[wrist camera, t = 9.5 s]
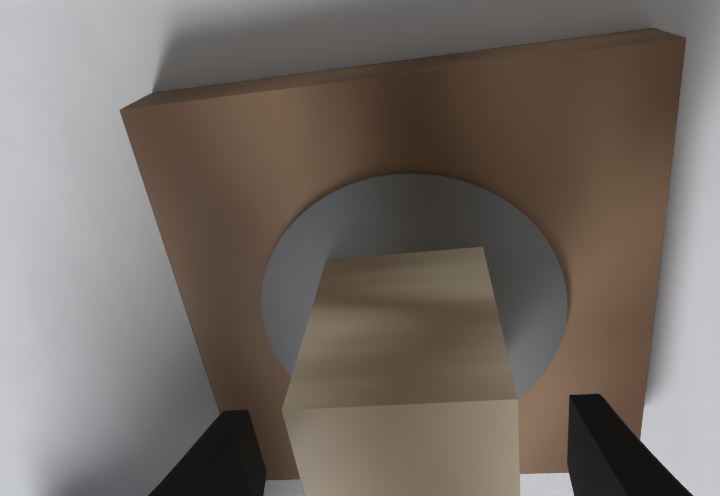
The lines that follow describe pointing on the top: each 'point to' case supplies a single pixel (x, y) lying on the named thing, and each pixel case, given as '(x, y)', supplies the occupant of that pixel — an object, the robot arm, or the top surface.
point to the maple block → (405, 381)
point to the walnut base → (427, 211)
